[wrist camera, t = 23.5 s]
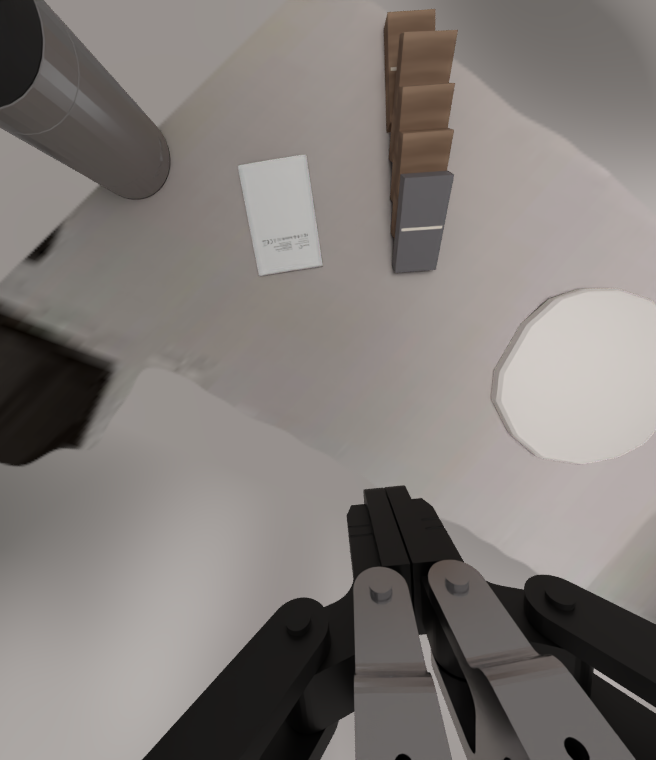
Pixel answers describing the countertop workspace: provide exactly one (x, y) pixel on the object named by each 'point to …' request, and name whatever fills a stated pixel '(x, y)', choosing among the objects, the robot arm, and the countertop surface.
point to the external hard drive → (281, 214)
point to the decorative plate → (581, 376)
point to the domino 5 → (420, 220)
